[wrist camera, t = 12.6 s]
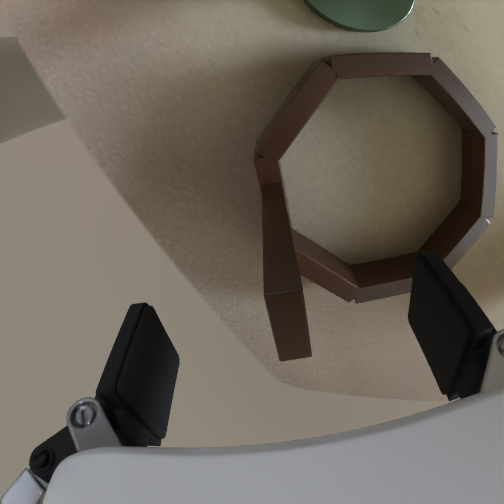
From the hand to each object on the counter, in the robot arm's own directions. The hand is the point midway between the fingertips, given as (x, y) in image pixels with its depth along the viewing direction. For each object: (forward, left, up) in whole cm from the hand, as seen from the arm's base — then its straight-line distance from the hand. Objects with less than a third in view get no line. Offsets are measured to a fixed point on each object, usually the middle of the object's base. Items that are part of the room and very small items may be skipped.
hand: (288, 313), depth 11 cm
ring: (+8, 0, -12) cm, 15 cm away
